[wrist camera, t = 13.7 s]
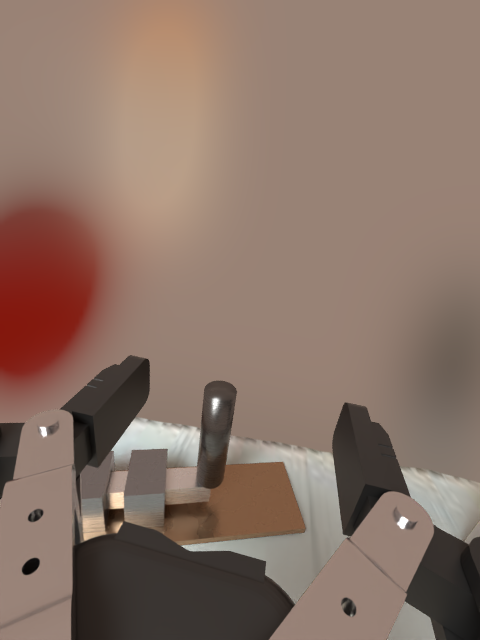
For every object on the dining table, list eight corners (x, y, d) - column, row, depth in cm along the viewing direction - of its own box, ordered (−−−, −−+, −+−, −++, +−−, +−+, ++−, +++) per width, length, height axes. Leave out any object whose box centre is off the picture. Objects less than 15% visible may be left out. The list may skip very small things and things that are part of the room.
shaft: (220, 478, 38) (234, 380, 32) (223, 502, 35) (239, 401, 29) (70, 487, 34) (53, 380, 28) (60, 515, 31) (39, 403, 25)
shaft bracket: (281, 465, 43) (290, 433, 40) (304, 532, 35) (316, 497, 32) (72, 477, 37) (66, 441, 35) (41, 559, 30) (31, 520, 27)
